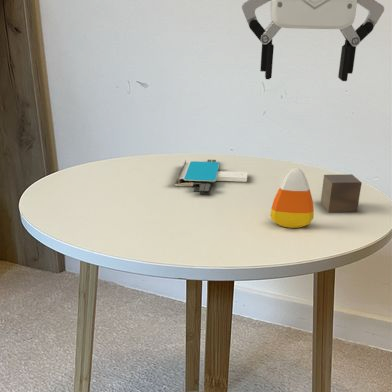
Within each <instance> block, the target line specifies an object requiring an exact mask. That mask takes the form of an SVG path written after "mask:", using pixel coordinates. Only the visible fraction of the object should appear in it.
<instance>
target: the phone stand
mask: <svg viewBox="0 0 392 392" xmlns="http://www.w3.org/2000/svg"><path fill="white" fill-rule="evenodd" d="M219 166H220V162H218V161H217V159H207V161H198V160H197V161H195V160H193V161H190V162H187V160H184V162H183V164H182V165H181V169H180V171H179V172H178V175H177V178H176V181H175V182H174V187H182V188H183V187H185V188H187V187H188V188H194V189H193V192H195V193H199V195H207V196H208V195H210V191H211V188H212V184H213V183H216V182H217V181H218V182H220V181H221V182H241V183H242V182H244V183H247V182H248V172H247V171H226V170H225V171H223V170H221V171H220V170H219ZM216 192H217V191H216Z"/></svg>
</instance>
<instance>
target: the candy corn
mask: <svg viewBox="0 0 392 392" xmlns="http://www.w3.org/2000/svg"><path fill="white" fill-rule="evenodd" d="M314 213H315V209H314V199H313V195H312V193H311V188H310V185H309V182H308V179H307V177H306V174H305V173H304V171H303V170H302V169H301V168H300V167H293V168H292V169H290V170H289V171H288V173H287V174H286V176H285V177H284V179H283V180H282V182H281V184H280V186H279V188H278V190H277V191H276V194H275V196H274V199H273V201H272V205H271V208H270V214H269V215H270V218H271V220H272V221H273V222H274V223H275V224H277V225H278V226H280V227H284V228H289V229H291V228H292V229H297V228H302V227H305V226H308V225H309V224H311V222H312V221H313V220H314V215H315V214H314Z"/></svg>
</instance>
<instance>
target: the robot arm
mask: <svg viewBox="0 0 392 392" xmlns="http://www.w3.org/2000/svg"><path fill="white" fill-rule="evenodd" d="M269 2H270V20H271V22H270V23H269V24H268V25H267V27H266V28H264V26H262V24H261V23H260V22H259V21H258V18H257V16H256V10H257V9H258V8H260V7H263V5H265V4H267V3H269ZM357 6H360V7H361V8H362V9H365V10H366V11H367V16H366V18H365V20H364V22H363V23H362V24H361V25H360V26H358V27H357V28H356V29H355V28H354V26H353V24H354V22H355V19H356V15H357V14H356V13H357ZM241 10H242V13H243V15H244V17H245V20H246V22H247V24H248V27H249V29H250V30H251V32H252V33H253V34H254V35H255V37H256V38H257V40H259V41H260V43H261V52H260V53H261V54H260V69H259V71H260V72H263V73H264V78H265V80H270V79H272V77H273V76H272V75H273V64H274V63H273V61H274V48H275V47H274V44H273V38H274V37H275V36H276V35H277V34H278V32H279V31H280V30H281V29H282V28H284V29H298V30H299V29H301V30H303V29H305V30H339V31H340V33H341V35H342V36H343V38H344V39H345V40H344V44H343V45H342V46H341V50H340V51H341V52H340V58H339V59H340V60H339V69H338V74H337V77H338V79H339V80H340V81H341V82H347V81H348V75H349V74H353V71H354V65H355V58H356V50H357V47H358V46H359V45H360V43H361V42H362V41H363V40H364V39H365V38H366V37H368V36H369V34H370V33H372V31H373V30H374V28H375V26H376V25H377V23H378V22H379V20H380V18H381V17H382V15H383V13H384V12H385V6H384V5H383V4H382V3H380V2H378V1H377V0H247V1H245V2H243V3H242V4H241Z"/></svg>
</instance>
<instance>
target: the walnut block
mask: <svg viewBox="0 0 392 392" xmlns="http://www.w3.org/2000/svg"><path fill="white" fill-rule="evenodd" d="M362 184H363V183H362V181H360V180H359V179H358V178H357V177H356V176H355V175H353V174H350V173H349V174H347V173H346V174H324V175H323V180H322V187H321V188H322V189H321V196H320V205H322V207H323V208H324V210H326V211H327V213H357V212H358V208H359V202H360V197H361V190H362Z"/></svg>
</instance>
